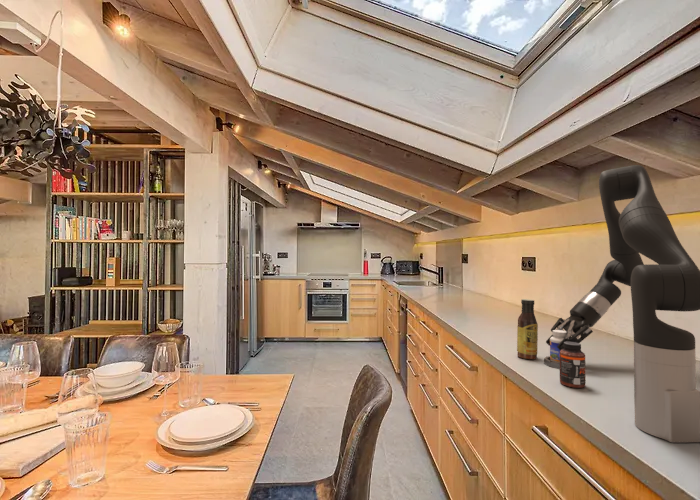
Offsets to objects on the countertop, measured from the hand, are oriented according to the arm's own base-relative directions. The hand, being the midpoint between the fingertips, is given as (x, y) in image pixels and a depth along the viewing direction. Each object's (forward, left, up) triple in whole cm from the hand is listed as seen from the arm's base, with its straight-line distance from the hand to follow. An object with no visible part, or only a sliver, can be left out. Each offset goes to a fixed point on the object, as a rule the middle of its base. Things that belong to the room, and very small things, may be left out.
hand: (554, 346), depth 112 cm
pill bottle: (0, -2, -5) cm, 5 cm away
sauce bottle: (+9, +4, -6) cm, 11 cm away
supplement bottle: (-17, +5, -6) cm, 19 cm away
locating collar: (0, -2, -6) cm, 6 cm away
